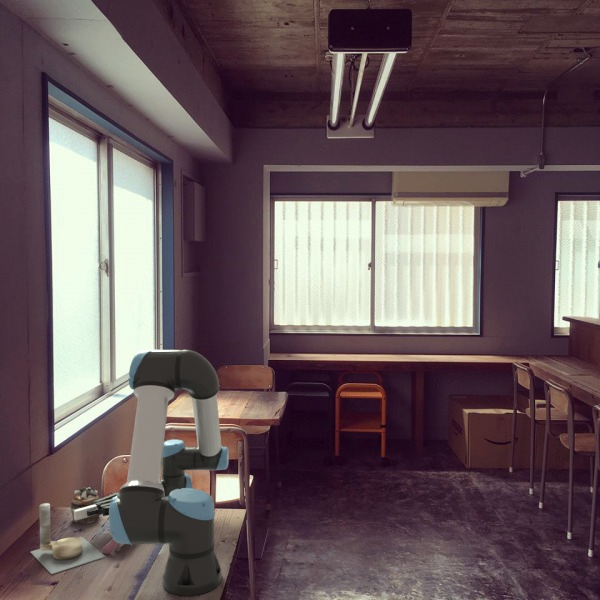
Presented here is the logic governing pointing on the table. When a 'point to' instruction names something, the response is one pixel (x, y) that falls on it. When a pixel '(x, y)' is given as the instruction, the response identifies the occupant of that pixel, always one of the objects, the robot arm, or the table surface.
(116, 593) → the table surface
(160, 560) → the table surface
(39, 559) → the base
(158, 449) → the robot arm
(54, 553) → the cream oval with post
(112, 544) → the video game controller
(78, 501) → the cupcake
